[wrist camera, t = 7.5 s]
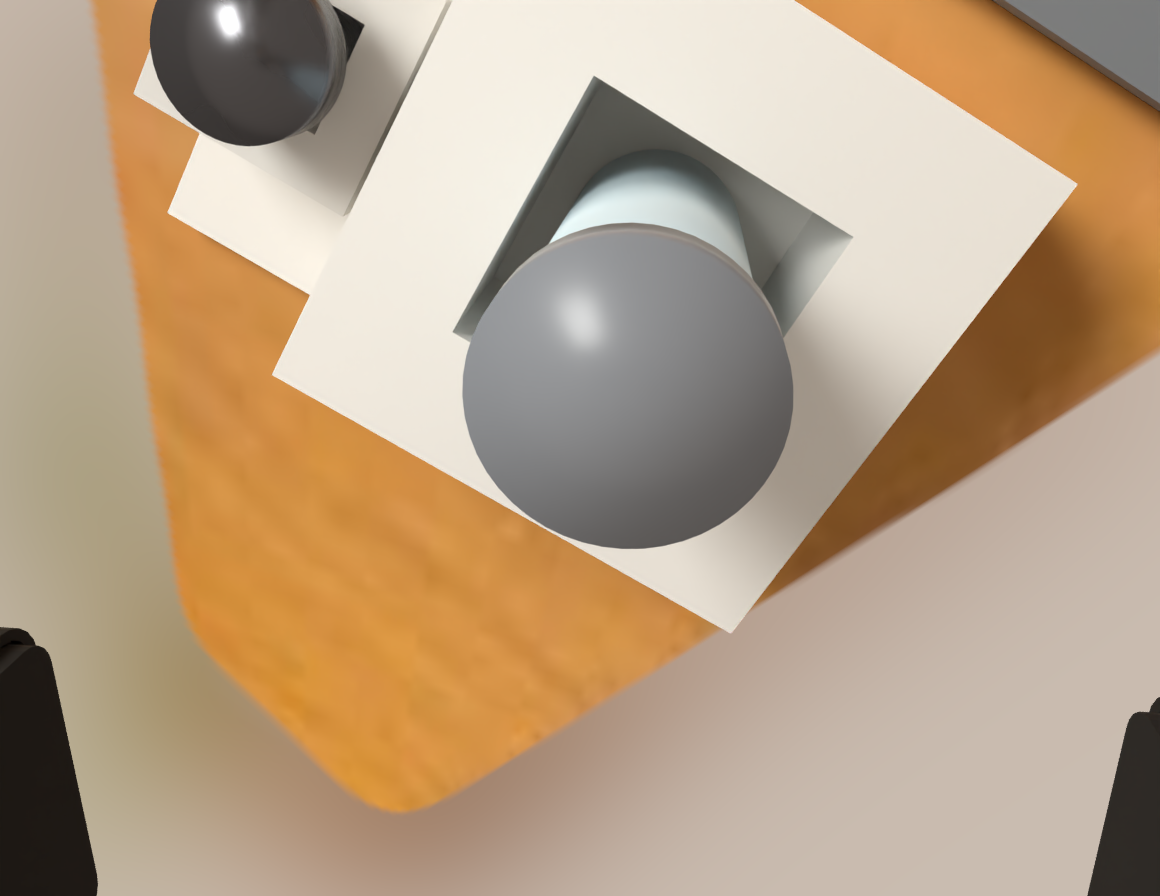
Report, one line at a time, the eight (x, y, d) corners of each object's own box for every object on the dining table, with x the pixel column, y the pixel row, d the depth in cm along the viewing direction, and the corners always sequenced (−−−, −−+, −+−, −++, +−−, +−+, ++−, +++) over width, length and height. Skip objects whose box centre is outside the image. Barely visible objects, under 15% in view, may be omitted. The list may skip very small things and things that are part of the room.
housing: (167, 198, 33) (40, 244, 27) (355, -266, 28) (254, -350, 21) (724, 520, 35) (730, 633, 29) (995, 147, 30) (1078, 184, 24)
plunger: (238, 72, 30) (124, 86, 24) (295, -65, 28) (188, -86, 22) (363, 146, 30) (282, 179, 24) (425, 16, 29) (355, 17, 23)
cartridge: (525, 269, 32) (407, 449, 19) (621, 99, 30) (564, 169, 17) (684, 363, 32) (677, 601, 19) (789, 204, 30) (862, 351, 17)
